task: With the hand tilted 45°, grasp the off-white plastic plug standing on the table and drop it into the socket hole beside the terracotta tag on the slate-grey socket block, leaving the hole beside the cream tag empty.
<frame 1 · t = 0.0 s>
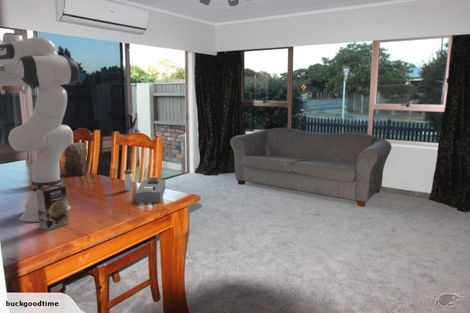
hand: (13, 93, 179), 52 cm above the table, tool tilted 20°, fingers open, 8 cm apart
candy bar box: (49, 184, 205), on the table
owl: (78, 174, 230), on the table
coffee box: (54, 226, 144), on the table
plug: (129, 190, 195), on the table
socket block: (151, 194, 186), on the table
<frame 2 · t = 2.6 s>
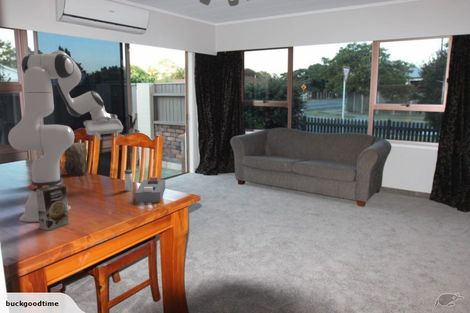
hand: (108, 138, 198), 27 cm above the table, tool tilted 45°, fingers open, 8 cm apart
nothing on the table moved.
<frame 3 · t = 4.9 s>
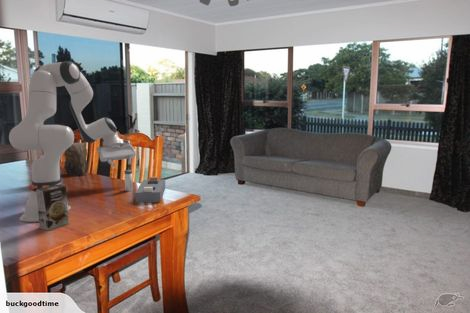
hand: (122, 164, 198), 13 cm above the table, tool tilted 45°, fingers open, 8 cm apart
nothing on the table moved.
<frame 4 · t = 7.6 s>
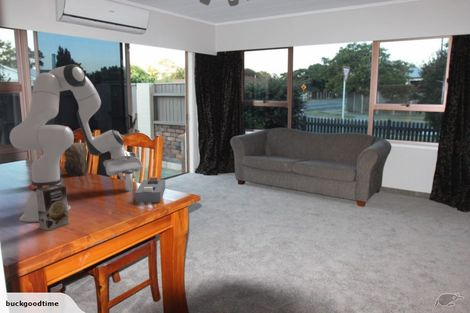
hand: (129, 178, 193), 7 cm above the table, tool tilted 45°, fingers closed on plug, 4 cm apart
plug: (129, 190, 195), on the table, touching gripper
everything else where it was.
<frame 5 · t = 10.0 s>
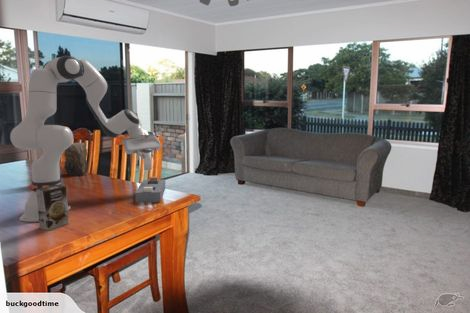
hand: (147, 157, 189), 19 cm above the table, tool tilted 45°, fingers closed on plug, 4 cm apart
plug: (147, 169, 191), point 12 cm above the table, touching gripper
everything else where it was.
when the fingers open (9 cm above the table, at t = 12.8 s): plug drops 2 cm, resting in socket block.
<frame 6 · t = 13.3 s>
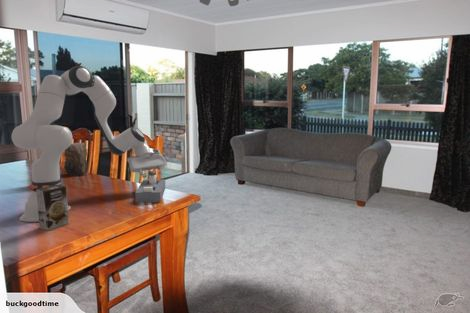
hand: (153, 175, 190), 9 cm above the table, tool tilted 45°, fingers open, 8 cm apart
plug: (153, 191, 192), resting in socket block
everything else where it was.
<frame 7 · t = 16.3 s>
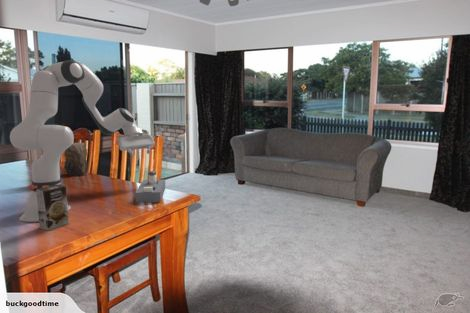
hand: (141, 154, 198), 19 cm above the table, tool tilted 45°, fingers open, 8 cm apart
nothing on the table moved.
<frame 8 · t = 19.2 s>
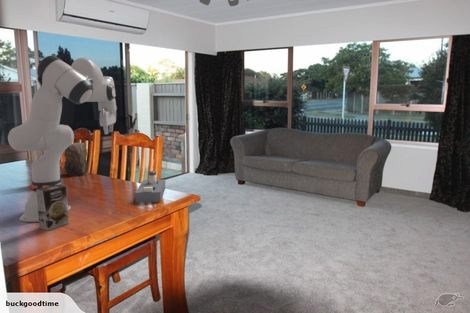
hand: (108, 133, 192), 31 cm above the table, tool pointing down, fingers open, 8 cm apart
nothing on the table moved.
at the end: plug 0.0 cm from the target spot on the socket block, point 0.0 cm above the socket block's base; plug tilted 0°; the gripper is holding nothing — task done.
